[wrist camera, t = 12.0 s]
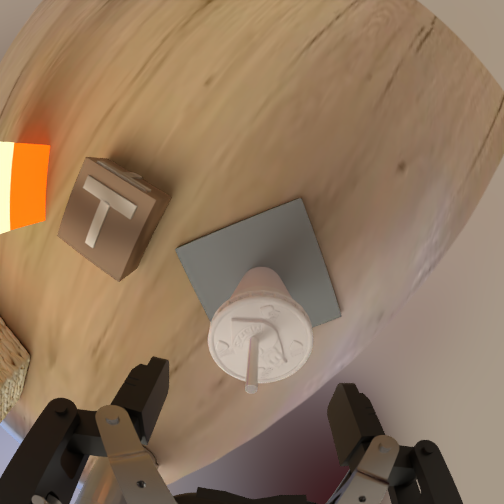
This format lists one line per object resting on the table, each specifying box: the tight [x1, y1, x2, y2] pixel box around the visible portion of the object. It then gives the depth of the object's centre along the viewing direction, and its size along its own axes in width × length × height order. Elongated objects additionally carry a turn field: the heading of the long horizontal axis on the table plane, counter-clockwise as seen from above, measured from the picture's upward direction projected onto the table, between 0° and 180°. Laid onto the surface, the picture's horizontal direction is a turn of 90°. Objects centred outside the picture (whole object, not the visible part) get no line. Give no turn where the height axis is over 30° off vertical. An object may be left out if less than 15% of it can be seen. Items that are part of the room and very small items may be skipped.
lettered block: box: [57, 157, 172, 282], centre depth 22 cm, size 8×8×4 cm
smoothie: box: [208, 267, 313, 393], centre depth 18 cm, size 6×6×14 cm
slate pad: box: [175, 198, 341, 328], centre depth 25 cm, size 12×12×1 cm
